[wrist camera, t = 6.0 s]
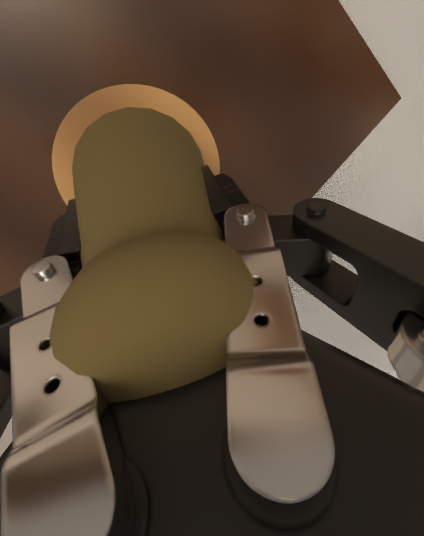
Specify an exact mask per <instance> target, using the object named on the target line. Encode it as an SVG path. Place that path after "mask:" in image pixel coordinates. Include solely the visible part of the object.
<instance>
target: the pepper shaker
mask: <svg viewBox="0 0 424 536" xmlns="http://www.w3.org/2000/svg"><path fill="white" fill-rule="evenodd" d="M201 166H204V161H203V158H202V154H201V150H200V149H199V147H198V145H197V144H196V142H195V140H194V139H193V137H192V135H191V133H190V132H189V131H188V130H187V129H185V128H184V127H183V126H182V125H181V124H180V123H179V122H177V121H176V120H175V119H174V118H173V117H170V116H168V115H165V114H163V113H161V112H158V111H156V110H154V109H150V108H135V107H126V108H122V109H119V110H115V111H112V112H108V113H105V114H103V115H102V116H101V117H100V118H98V119H97V120H96V121H94V122H93V123H92V124H90V125H89V126H88V127H87V128H86V129H85V131H84V133H83V134H82V136H81V138H80V139H79V141H78V143H77V144H76V146H75V151H74V157H73V164H72V174H73V185H74V195H75V202H76V210H77V218H78V225H79V233H80V240H81V253H80V255H81V265H82V269H81V270H80V272H79V273H78V274H77V276H76V277H75V278H74V280H73V281H72V282H71V284H70V285H69V286H68V288H67V289H66V291H65V293H64V294H63V296H62V298H61V299H60V301H59V303H58V304H57V306H56V308H55V312H54V316H53V321H52V326H51V330H50V341H49V347H50V346H51V345H52V351H53V355H54V358H55V359H57V360H58V361H59V362H61V363H62V364H63V365H65V366H66V367H67V368H69V369H70V370H71V371H73V372H74V373H75V374H77V375H82V376H92V377H93V379H94V380H95V382H96V384H97V385H98V387H99V389H100V390H101V391H102V392H103V394H104V395H105V396H106V398H107V399H108V402H109V403H114V402H121V401H127V400H134V399H139V398H143V397H147V396H151V395H155V394H159V393H162V392H165V391H169V390H172V389H175V388H178V387H181V386H184V385H186V384H189V383H192V382H194V381H197V380H200V379H202V378H204V377H207V376H209V375H211V374H213V373H215V372H217V371H219V370H221V369H223V368H225V367H226V360H227V341H226V335H227V334H228V333H230V332H231V331H233V330H234V329H235V328H237V327H238V326H240V325H241V324H242V323H243V321H244V320H245V318H246V316H247V314H248V311H249V308H250V306H251V303H252V300H253V297H254V295H253V286H259V285H260V284H259V282H258V281H257V280H255V279H254V278H252V275H251V273H250V271H249V269H248V268H247V266H246V264H245V262H244V261H243V259H242V257H241V256H240V255H239V254H238V253H237V252H236V251H237V250H235V249H234V248H232V247H231V246H229V245H228V244H226V243H225V238H224V234H223V231H222V229H221V226H220V225H219V223H218V222H217V220H216V219H215V217H214V216H213V214H212V211H211V208H210V204H209V200H208V196H207V191H206V187H205V183H204V178H203V174H202V170H201ZM256 325H258V326H261V325H260V324H256Z"/></svg>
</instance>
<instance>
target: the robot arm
mask: <svg viewBox="0 0 424 536" xmlns="http://www.w3.org/2000/svg"><path fill="white" fill-rule="evenodd" d="M201 170H202V174H203V178H204V183H205V187H206V191H207V196H208V200H209V204H210V208H211V211H212V214H213V216H214V217H215V219H216V220H217V222H218V223H219V225H220V226H221V229H222V231H223V234H224V238H225V243H226V244H228V245H229V246H231V247H232V248H234V249H235V250H237V251H236V252H237V253H238V254H239V255H240V256H241V257H242V259H243V261H244V262H245V264H246V266H247V268H248V269H249V271H250V273H251V275H252V278H254V279H255V280H257V281H258V282H259V284H260V285H259V286H253V295H254V297H253V300H252V303H251V306H250V308H249V311H248V314H247V316H246V318H245V320H244V321H243V323H242V324H241V325H240V326H238V327H237V328H235V329H234V330H233V331H231V332H230V333H228V334H227V335H226V341H227V360H226V367H225V368H223V369H221V370H219V371H217V372H215V373H213V374H211V375H209V376H207V377H204V378H202V379H200V380H197V381H194V382H192V383H189V384H186V385H184V386H181V387H178V388H175V389H172V390H169V391H165V392H162V393H159V394H155V395H151V396H147V397H143V398H139V399H134V400H127V401H121V402H114V403H109V402H108V399H107V398H106V396H105V395H104V394H103V392H102V391H101V390H100V389H99V387H98V385H97V384H96V382H95V380H94V379H93V377H92V376H82V375H77V374H75V373H74V372H73V371H71V370H70V369H69V368H67V367H66V366H65V365H63V364H62V363H61V362H59V361H58V360H57V359H55V358H54V355H53V351H52V345H51V346H50V347H49V341H50V330H51V326H52V321H53V316H54V312H55V308H56V306H57V304H58V303H59V301H60V299H61V298H62V296H63V294H64V293H65V291H66V289H67V288H68V286H69V285H70V284H71V282H72V281H73V280H74V278H75V277H76V276H77V274H78V273H79V272H80V270H81V269H82V265H81V255H80V253H81V240H80V233H79V225H78V218H77V210H76V202H75V199H71V200H69V201H68V206H67V210H66V214H64V215H60V216H59V217H58V218H57V220H56V221H55V222H54V223H53V224H52V228H51V231H50V233H51V234H50V235H49V238H48V240H49V241H48V242H47V245H46V249H45V252H44V256H43V258H42V259H40V260H38V261H36V262H34V263H33V264H32V265H30V266H29V267H28V268H27V269H26V270H25V271H24V272H23V274H22V276H21V278H20V284H21V286H20V287H18V288H17V289H15V290H12V291H10V292H8V293H6V294H4V295H2V296H0V438H1V436H2V434H3V432H4V430H5V428H6V426H7V424H8V423H9V421H10V419H11V417H12V433H13V441H12V442H11V444H10V445H9V446H8V448H7V449H6V450H5V452H4V453H3V454H2V456H1V457H0V536H424V242H422V241H419V240H417V239H415V238H413V237H410V236H408V235H406V234H404V233H401V232H399V231H397V230H395V229H393V228H390V227H388V226H386V225H384V224H381V223H379V222H377V221H375V220H372V219H370V218H368V217H366V216H364V215H361V214H359V213H357V212H355V211H352V210H350V209H348V208H346V207H344V206H341V205H339V204H337V203H335V202H332V201H330V200H327V199H321V198H311V199H306V200H303V201H300V202H299V203H297V204H296V205H295V206H294V208H293V215H277V216H274V215H267V212H266V210H265V209H264V208H263V207H262V206H260V205H257V204H251V203H250V202H249V201H248V199H247V198H246V197H245V195H244V194H243V193H242V191H241V190H240V189H239V187H238V186H237V185H236V183H235V182H234V180H233V179H232V178H231V177H229V176H227V175H225V174H223V173H222V174H219V175H215V176H214V174H213V173H212V171H211V170H210V168H209V166H208V165H204V166H201ZM332 253H333V254H335V255H337V256H339V257H340V258H342V259H344V260H345V261H347V262H349V263H350V264H351V265H353V266H354V268H355V269H356V271H357V273H358V275H356V274H355V273H353V272H351V271H350V270H348V269H346V268H345V267H343V266H341V265H340V264H338V263H337V262H335V261H333V260H332V259H331V258H332ZM287 276H290V277H291V278H292V280H294V281H295V282H296V283H297V284H299V285H300V286H301V287H303V288H304V289H305V290H307V291H308V292H309V293H311V294H312V295H313V296H315V297H316V298H317V299H319V300H320V301H321V302H323V303H324V304H325V305H327V306H328V307H329V308H330V309H332V310H333V311H334V312H336V313H337V314H338V315H340V316H341V317H342V318H344V319H345V320H346V321H348V322H349V323H350V324H352V325H353V326H354V327H356V328H357V329H358V330H360V331H361V332H362V333H364V334H365V335H366V336H368V337H369V338H370V339H372V340H373V341H374V342H376V343H377V344H378V345H380V346H381V347H382V348H384V349H385V350H386V351H388V358H389V361H390V363H391V364H392V366H393V368H394V369H395V370H396V374H397V376H398V378H399V379H400V380H399V379H397V378H395V377H393V376H391V375H389V374H387V373H385V372H383V371H381V370H379V369H377V368H375V367H374V366H372V365H370V364H368V363H366V362H364V361H362V360H360V359H358V358H356V357H354V356H352V355H350V354H348V353H346V352H344V351H342V350H340V349H338V348H336V347H334V346H332V345H330V344H328V343H326V342H324V341H322V340H320V339H318V338H316V337H314V336H312V335H310V334H309V333H307V332H305V331H303V330H301V328H300V324H299V320H298V316H297V312H296V309H295V305H294V301H293V297H292V293H291V289H290V285H289V281H288V277H287ZM256 324H260V325H261V326H258V325H256Z"/></svg>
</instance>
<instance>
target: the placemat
mask: <svg viewBox="0 0 424 536" xmlns="http://www.w3.org/2000/svg"><path fill="white" fill-rule="evenodd" d="M400 99H401V97H400V95H399V94H398V92H397V91H396V89H395V88H394V86H393V85H392V83H391V81H390V80H389V78H388V77H387V75H386V74H385V72H384V71H383V69H382V67H381V66H380V64H379V63H378V61H377V60H376V58H375V57H374V55H373V53H372V52H371V50H370V49H369V47H368V46H367V44H366V43H365V41H364V39H363V38H362V36H361V35H360V33H359V32H358V30H357V29H356V27H355V25H354V24H353V22H352V21H351V19H350V18H349V16H348V15H347V13H346V11H345V10H344V8H343V7H342V5H341V4H340V2H339V1H338V0H0V296H2V295H4V294H6V293H8V292H10V291H12V290H15V289H17V288H18V287H20V286H21V284H20V278H21V276H22V274H23V272H24V271H25V270H26V269H27V268H28V267H29V266H30V265H32V264H33V263H34V262H36V261H38V260H40V259H42V258H43V256H44V252H45V249H46V245H47V242H48V241H49V240H48V238H49V235H50V234H51V233H50V231H51V228H52V224H53V223H54V222H55V221H56V220H57V218H58V217H59V216H60V215H64V214H66V210H67V206H68V201H69V200H71V199H75V195H74V185H73V174H72V164H73V157H74V151H75V146H76V144H77V143H78V141H79V139H80V138H81V136H82V134H83V133H84V131H85V129H86V128H87V127H88V126H89V125H90V124H92V123H93V122H94V121H96V120H97V119H98V118H100V117H101V116H102V115H103V114H105V113H108V112H112V111H115V110H119V109H122V108H126V107H135V108H150V109H154V110H156V111H158V112H161V113H163V114H165V115H168V116H170V117H173V118H174V119H175V120H176V121H177V122H179V123H180V124H181V125H182V126H183V127H184V128H185V129H187V130H188V131H189V132H190V133H191V135H192V137H193V139H194V140H195V142H196V144H197V145H198V147H199V149H200V150H201V154H202V158H203V161H204V165H208V166H209V168H210V170H211V171H212V173H213V174H214V176H215V175H219V174H222V173H223V174H225V175H227V176H229V177H231V178H232V179H233V180H234V182H235V183H236V185H237V186H238V187H239V189H240V190H241V191H242V193H243V194H244V195H245V197H246V198H247V199H248V201H249V202H250V203H251V204H257V205H260V206H262V207H263V208H264V209H265V210H266V212H267V215H274V216H277V215H293V208H294V206H295V205H296V204H297V203H299V202H300V201H303V200H306V199H311V198H312V197H313V196H314V195H315V194H316V192H317V191H318V190H319V189H320V188H321V187H322V186H323V185H324V184H325V182H326V181H327V180H328V179H329V178H330V177H331V176H332V175H333V174H334V172H335V171H336V170H337V169H338V168H339V167H340V166H341V165H342V164H343V162H344V161H345V160H346V159H347V158H348V157H349V156H350V155H351V154H352V152H353V151H354V150H355V149H356V148H357V147H358V146H359V145H360V144H361V142H362V141H363V140H364V139H365V138H366V137H367V136H368V135H369V134H370V132H371V131H372V130H373V129H374V128H375V127H376V126H377V125H378V124H379V122H380V121H381V120H382V119H383V118H384V117H385V116H386V115H387V114H388V112H389V111H390V110H391V109H392V108H393V107H394V106H395V105H396V104H397V102H398V101H399V100H400Z"/></svg>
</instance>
